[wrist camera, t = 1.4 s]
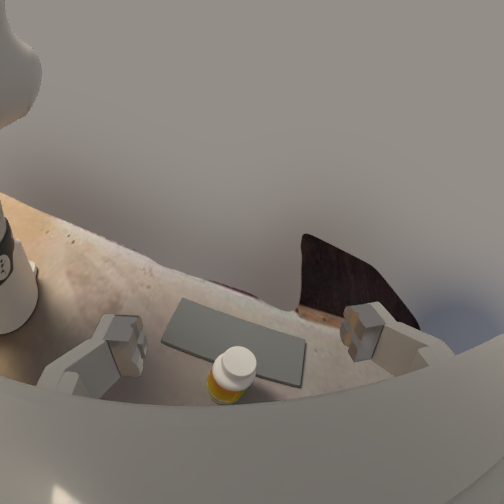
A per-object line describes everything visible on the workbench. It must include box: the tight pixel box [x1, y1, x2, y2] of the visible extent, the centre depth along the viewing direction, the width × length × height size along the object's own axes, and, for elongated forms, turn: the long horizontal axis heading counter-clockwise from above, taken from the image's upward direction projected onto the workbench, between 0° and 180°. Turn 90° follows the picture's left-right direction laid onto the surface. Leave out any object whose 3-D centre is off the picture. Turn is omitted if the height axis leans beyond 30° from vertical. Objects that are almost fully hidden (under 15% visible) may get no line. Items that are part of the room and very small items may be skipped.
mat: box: [161, 298, 305, 387], centre depth 42 cm, size 22×9×1 cm, turn 77°
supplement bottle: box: [206, 346, 256, 404], centre depth 33 cm, size 5×5×10 cm
